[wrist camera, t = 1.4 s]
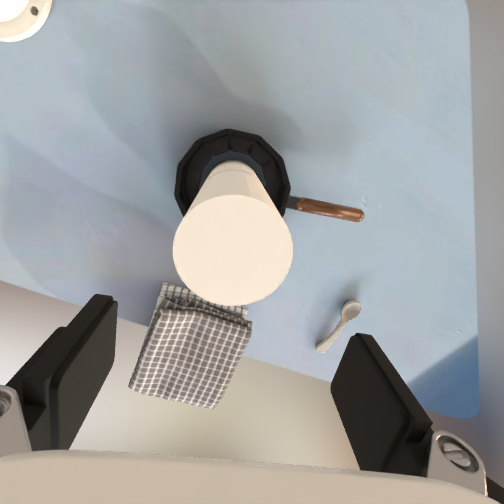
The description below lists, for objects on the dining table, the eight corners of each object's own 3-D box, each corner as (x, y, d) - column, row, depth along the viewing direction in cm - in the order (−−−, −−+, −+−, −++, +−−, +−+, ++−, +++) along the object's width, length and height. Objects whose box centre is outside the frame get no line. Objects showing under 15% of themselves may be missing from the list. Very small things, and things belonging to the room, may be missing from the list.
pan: (188, 119, 37) (182, 117, 33) (369, 161, 40) (385, 164, 36) (175, 224, 42) (169, 234, 38) (338, 253, 45) (348, 265, 41)
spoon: (362, 301, 49) (367, 308, 47) (323, 348, 53) (326, 357, 51) (348, 294, 48) (352, 301, 46) (310, 343, 53) (312, 351, 51)
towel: (135, 362, 51) (119, 400, 43) (165, 275, 45) (152, 302, 38) (217, 383, 54) (214, 422, 46) (255, 304, 48) (259, 334, 41)
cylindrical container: (214, 152, 38) (187, 178, 15) (265, 168, 40) (310, 215, 17) (201, 203, 41) (161, 291, 18) (249, 216, 42) (270, 316, 19)
